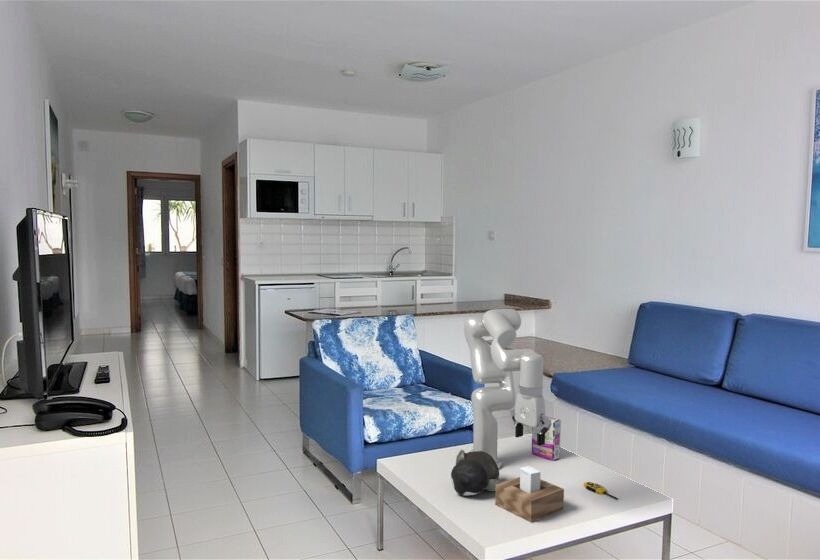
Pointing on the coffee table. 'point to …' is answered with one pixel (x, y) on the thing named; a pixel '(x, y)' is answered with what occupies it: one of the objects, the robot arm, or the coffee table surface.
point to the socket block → (529, 499)
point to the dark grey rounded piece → (474, 473)
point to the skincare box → (529, 479)
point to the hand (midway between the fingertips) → (529, 440)
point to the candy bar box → (548, 441)
